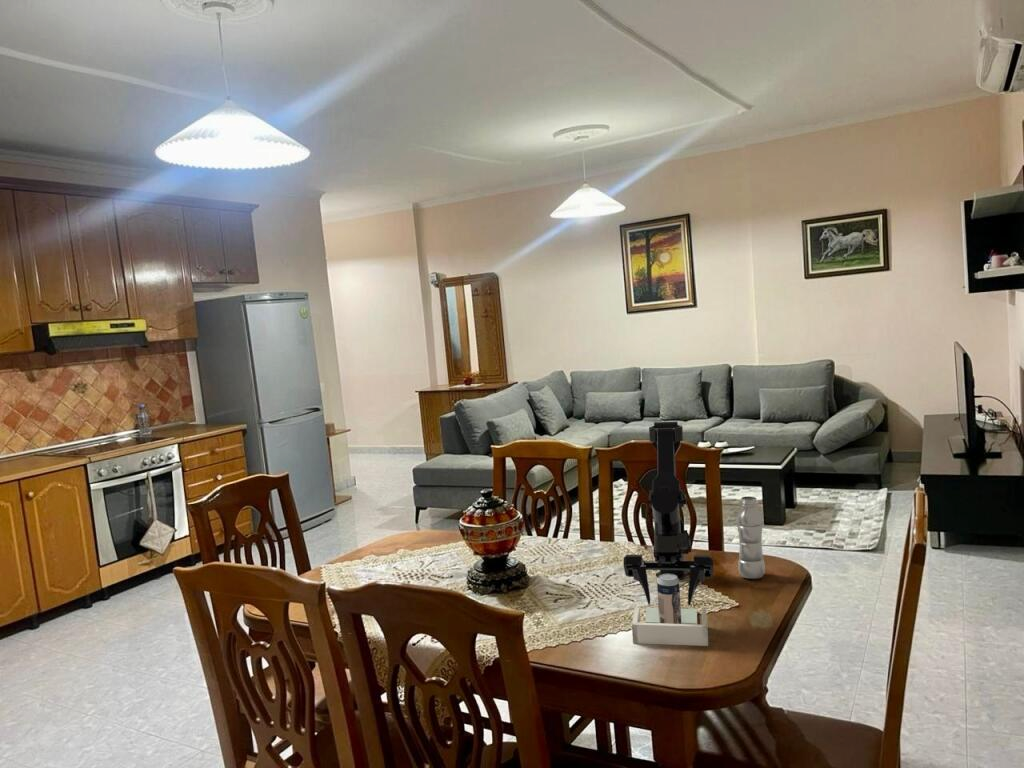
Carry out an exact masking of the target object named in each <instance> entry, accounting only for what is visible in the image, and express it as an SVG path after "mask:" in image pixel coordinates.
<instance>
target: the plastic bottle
mask: <svg viewBox="0 0 1024 768" xmlns="http://www.w3.org/2000/svg"><path fill="white" fill-rule="evenodd" d="M740 500H741V501H740V506H741V508H740V510H739V511H738V512H737V515H736V518H735V519H736V526H737V532H738V533H737V534H738V538H739V556H738V562H737V568H738V569H737V570H738V573H739V574H740V576H741V577H743V578H745V579H750V580H757V579H760V578H763V576H764V575H765V572H766V564H765V560H764V554H763V547H762V541H763V540H762V539H763V538H762V537H763V535H762V534H763V526H764V519H763V516H762V513H761V512H760V511H759V509H758V508H757V506H758V503H757V497H755V496H749V495H748V496H742V497H741V498H740Z"/></svg>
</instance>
